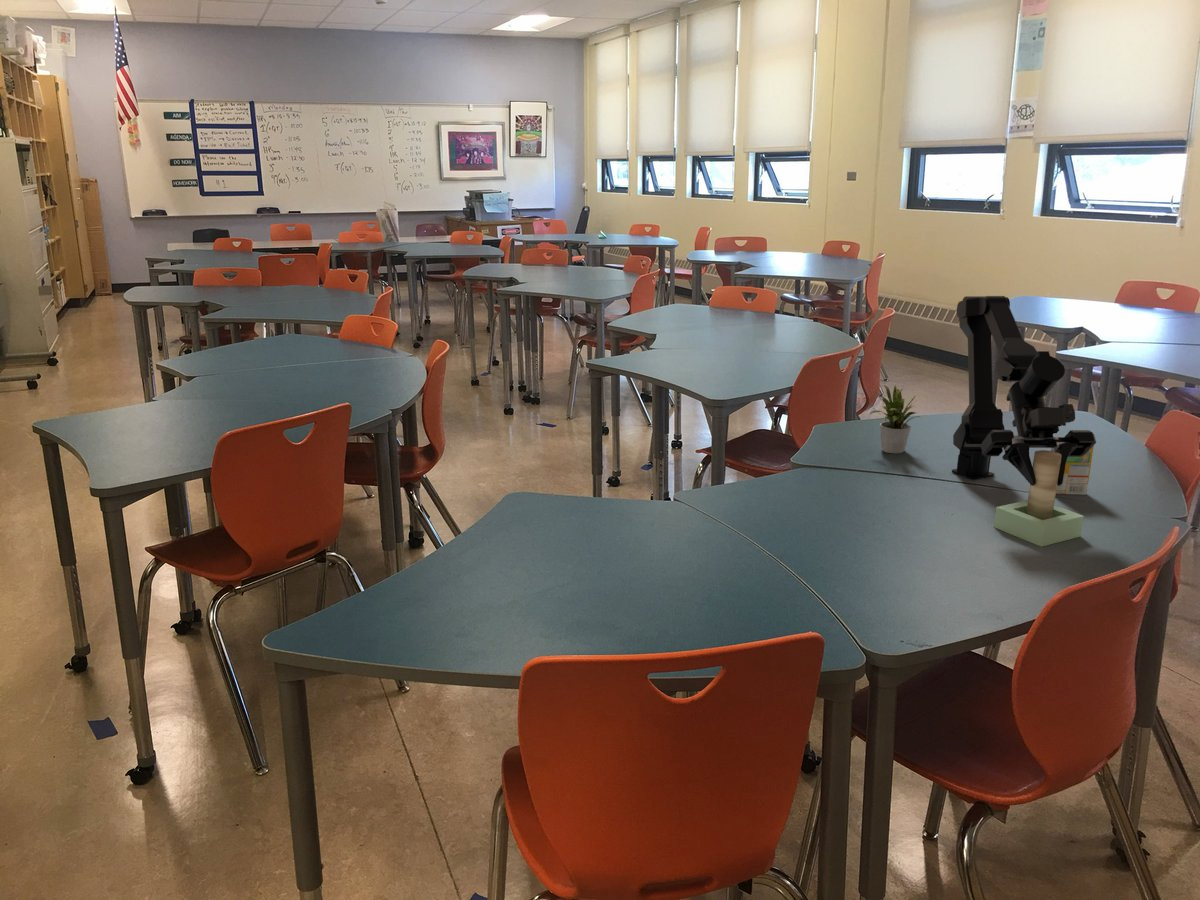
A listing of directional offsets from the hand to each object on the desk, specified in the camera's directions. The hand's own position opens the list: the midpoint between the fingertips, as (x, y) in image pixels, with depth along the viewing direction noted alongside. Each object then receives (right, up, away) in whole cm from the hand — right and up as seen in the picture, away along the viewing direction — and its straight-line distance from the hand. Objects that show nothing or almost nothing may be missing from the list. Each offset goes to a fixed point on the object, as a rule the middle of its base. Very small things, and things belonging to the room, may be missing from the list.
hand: (1046, 484), depth 163 cm
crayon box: (+16, -3, +24) cm, 29 cm away
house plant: (-12, +6, +54) cm, 56 cm away
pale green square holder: (0, -9, +4) cm, 10 cm away
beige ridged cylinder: (0, -6, +3) cm, 7 cm away
